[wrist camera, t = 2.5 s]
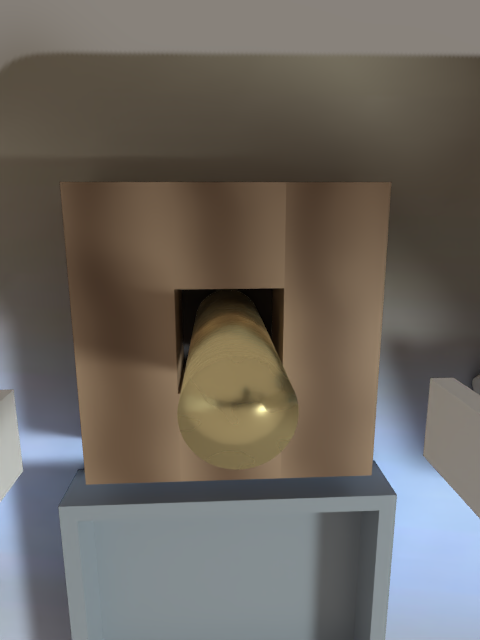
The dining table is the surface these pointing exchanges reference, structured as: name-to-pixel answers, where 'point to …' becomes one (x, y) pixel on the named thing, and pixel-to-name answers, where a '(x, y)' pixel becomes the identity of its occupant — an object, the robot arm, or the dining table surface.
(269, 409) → the pin
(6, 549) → the dining table surface
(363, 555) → the tray
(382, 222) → the block
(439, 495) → the dining table surface
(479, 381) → the electrical switch
